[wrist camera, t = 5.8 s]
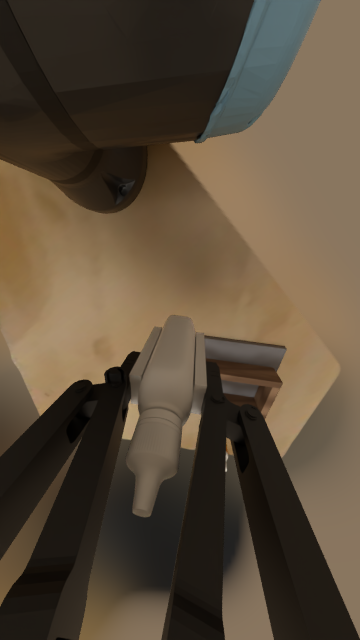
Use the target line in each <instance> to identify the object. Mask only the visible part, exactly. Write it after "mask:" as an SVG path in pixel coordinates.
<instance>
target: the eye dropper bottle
mask: <svg viewBox="0 0 360 640" xmlns="http://www.w3.org/2000/svg"><path fill="white" fill-rule="evenodd" d="M194 364H195V328H194V324H193V321H192V320H191V318H189V317H185V316H177V315H171V316H170V317H168V319H167V320H166V322H165V324H164V327H163V329H162V331H161V334H160V336H159V339H158V341H157V343H156V346H155V348H154V351H153V353H152V356H151V358H150V360H149V363H148V365H147V368H146V370H145V373H144V375H143V378H142V381H141V384H140V388H139V393H138V410H139V414H140V416H139V419H138V422H137V425H136V428H135V431H134V434H133V437H132V440H131V443H130V446H129V449H128V452H127V455H126V458H125V459H126V464H127V466H128V467H129V469H130V470H131V471H132V472H134V473H135V477H136V484H135V492H134V500H133V509H132V512H133V513H134V514H136V515H138V516H142V517H149V516H150V515H151V512H152V509H153V505H154V502H155V499H156V496H157V493H158V490H159V487H160V484H161V483H162V481H163V480H165V479H169V478H171V477H172V476H174V475H175V474H176V473H177V472H178V469H179V458H180V447H181V436H182V427H183V426H184V424H185V423H186V421H187V420H188V418H189V415H190V413H191V409H192V403H193V389H194Z"/></svg>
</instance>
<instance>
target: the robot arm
mask: <svg viewBox="0 0 360 640" xmlns="http://www.w3.org/2000/svg"><path fill="white" fill-rule="evenodd" d="M320 1H321V0H0V159H1V160H3V161H6V162H8V163H11V164H13V165H15V166H18V167H20V168H23V169H25V170H27V171H30V172H32V173H35V174H37V175H39V176H42V177H44V178H47V179H49V180H50V181H52V182H53V183H54V184H55V185H56V186H57V187H58V188H59V189H60V190H61V191H63V192H64V193H65V194H66V195H67V196H68V197H69V198H70V199H71V200H73V201H74V202H75V203H77V204H79V205H80V206H82V207H84V208H86V209H89V210H92V211H96V212H99V213H115V212H118V211H120V210H123V209H124V208H126V207H127V206H128V205H130V204H131V203H132V202H133V200H134V199H135V198H136V197H137V195H138V193H139V192H140V190H141V187H142V185H143V182H144V178H145V174H146V168H147V147H146V145H155V144H165V143H174V142H185V141H194V142H195V143H202V142H204V141H205V140H206V139H207V138H210V137H216V136H221V135H227V134H232V133H238V132H241V131H243V130H245V129H247V128H248V127H250V126H251V125H252V124H253V123H254V122H255V121H256V120H257V119H258V118H259V117H260V116H261V114H262V113H263V111H264V110H265V109H266V108H267V106H268V105H269V104H270V102H271V101H272V100H273V98H274V97H275V95H276V93H277V91H278V90H279V88H280V86H281V84H282V83H283V81H284V79H285V77H286V75H287V73H288V71H289V69H290V67H291V65H292V63H293V61H294V59H295V57H296V55H297V53H298V51H299V49H300V46H301V44H302V42H303V40H304V38H305V35H306V33H307V31H308V29H309V27H310V24H311V22H312V20H313V17H314V15H315V13H316V10H317V8H318V5H319V3H320ZM161 331H162V327H154V329H153V330H152V332H151V334H150V336H149V338H148V340H147V342H146V344H145V346H144V348H143V349H142V351H141V352H135V351H133V352H131V353H130V354H128V356H127V357H126V359H125V361H124V362H123V364H122V365H121V367H112V368H110V369H108V370H107V371H106V372H105V373H104V375H105V382H106V383H102V384H94V385H92V383H91V381H89V380H79V381H77V382H75V383H73V384H72V385H71V386H70V387H69V388H68V389H67V390H66V391H65V392H64V393H63V394H62V395H61V396H60V397H59V398H58V399H57V400H56V401H55V402H54V403H53V404H52V405H51V406H50V407H49V408H48V409H47V410H46V411H45V412H44V413H43V414H42V415H41V416H40V417H39V419H37V420H36V421H35V422H34V423H33V424H32V425H31V426H30V427H29V429H27V430H26V431H25V433H23V435H22V436H20V438H19V439H18V440H16V441H15V442H14V444H13V445H12V446H11V447H10V448H9V449H8V450H7V451H6V452H5V453H4V454H3V455H2V456H1V457H0V560H1V558H2V557H3V555H4V554H5V552H6V551H7V549H8V548H9V546H10V545H11V543H12V542H13V540H14V539H15V537H16V536H17V534H18V533H19V531H20V530H21V528H22V527H23V525H24V524H25V522H26V521H27V519H28V518H29V516H30V515H31V513H32V512H33V510H34V509H35V507H36V506H37V504H38V503H39V501H40V500H41V498H42V497H43V495H44V494H45V492H46V491H47V489H48V488H49V486H50V485H51V483H52V482H53V480H54V479H55V477H56V476H57V474H58V473H59V471H60V470H61V468H62V467H63V465H64V464H65V462H66V461H67V459H68V458H69V456H70V455H71V453H72V452H73V450H74V449H75V447H76V446H77V444H78V443H79V441H80V440H81V442H80V444H79V446H78V449H77V451H76V453H75V456H74V458H73V460H72V463H71V465H70V467H69V470H68V472H67V474H66V477H65V479H64V481H63V484H62V486H61V488H60V490H59V493H58V495H57V497H56V500H55V502H54V504H53V507H52V509H51V511H50V514H49V516H48V519H47V521H46V523H45V525H44V528H43V530H42V532H41V535H40V537H39V539H38V542H37V544H36V546H35V549H34V551H33V553H32V556H31V558H30V560H29V562H28V564H27V566H26V569H25V570H24V572H23V574H22V575H21V576H20V577H19V578H18V580H17V581H16V582H15V583H14V584H13V585H12V587H11V589H10V590H9V592H8V594H7V595H6V597H5V598H4V600H3V602H2V604H1V606H0V640H79V635H80V631H81V626H82V622H83V617H84V612H85V606H86V600H87V590H88V583H89V578H90V573H91V569H92V565H93V560H94V556H95V552H96V547H97V543H98V539H99V534H100V530H101V526H102V521H103V517H104V512H105V508H106V504H107V500H108V495H109V491H110V487H111V482H112V478H113V473H114V469H115V465H116V461H117V456H118V452H119V447H120V443H121V439H122V435H123V430H124V426H125V422H126V417H127V413H128V404H129V401H130V399H131V403H132V404H138V393H139V388H140V384H141V381H142V378H143V375H144V373H145V370H146V368H147V365H148V363H149V360H150V358H151V356H152V353H153V351H154V348H155V346H156V343H157V341H158V339H159V336H160V334H161ZM191 413H195V414H201V420H200V425H199V432H198V437H197V443H196V449H195V455H194V460H193V466H192V472H191V478H190V483H189V489H188V494H187V501H186V506H185V512H184V517H183V523H182V529H181V534H180V540H179V546H178V551H177V557H176V563H175V568H174V575H173V580H172V586H171V591H170V597H169V603H168V608H167V613H166V618H165V623H164V628H163V634H162V640H225V635H224V627H223V621H222V585H223V582H222V581H223V547H224V546H223V545H224V506H225V468H226V437H227V438H229V439H230V440H231V445H232V449H233V454H234V458H235V462H236V467H237V472H238V477H239V481H240V486H241V490H242V495H243V500H244V504H245V509H246V513H247V518H248V522H249V527H250V531H251V536H252V541H253V545H254V550H255V554H256V559H257V564H258V568H259V572H260V577H261V582H262V587H263V591H264V596H265V600H266V604H267V609H268V614H269V619H270V623H271V628H272V632H273V637H274V640H360V638H359V636H358V634H357V631H356V629H355V627H354V624H353V622H352V620H351V618H350V615H349V613H348V611H347V608H346V606H345V604H344V602H343V599H342V597H341V595H340V592H339V590H338V588H337V585H336V583H335V581H334V578H333V576H332V574H331V571H330V569H329V567H328V565H327V562H326V560H325V558H324V555H323V553H322V551H321V549H320V546H319V544H318V542H317V539H316V537H315V535H314V532H313V530H312V528H311V525H310V523H309V521H308V518H307V516H306V514H305V512H304V509H303V507H302V505H301V502H300V500H299V498H298V495H297V493H296V491H295V489H294V486H293V484H292V482H291V480H290V477H289V475H288V473H287V470H286V468H285V466H284V463H283V461H282V459H281V456H280V454H279V452H278V449H277V447H276V445H275V442H274V440H273V438H272V436H271V433H270V431H269V429H268V426H267V424H266V422H265V419H264V417H263V415H262V413H261V412H260V410H258V409H257V408H256V407H255V406H253V405H250V404H244V405H242V406H241V407H240V406H238V405H235V404H233V403H231V402H230V401H229V400H227V398H226V397H225V395H224V393H223V388H222V382H221V375H220V369H219V366H218V365H217V363H215V362H208V361H206V359H205V340H204V333H199V332H196V338H195V364H194V389H193V403H192V409H191ZM81 438H82V439H81Z"/></svg>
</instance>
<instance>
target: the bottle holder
mask: <svg viewBox="0 0 360 640" xmlns="http://www.w3.org/2000/svg"><path fill="white" fill-rule="evenodd" d="M204 340H205V359H206V361H208V362H215V363H217V365H218V366H219V369H220V375H221V382H222V388H223V393H224V395H225V397H226V398H227V400H229V401H230V402H231V403H233V404H235V405H238V406H240V407H241V406H242V405H244V404H250V405H253V406H255V407H256V408H257V409H258V410H260V412H261V413H262V415H263V417H264V419H265V418H266V416H267V414H268V412H269V410H270V408H271V406H272V404H273V402H274V400H275V398H276V396H277V394H278V392H279V390H280V388H281V386H282V384H283V383H282V381H281V379H280V378H279V376H278V374H277V373H276V372H277V370H278V368H279V365H280V363H281V361H282V359H283V357H284V354H285V352H286V350H287V349H286V348H285V346H277V345H270V344H262V343H255V342H247V341H240V340H232V339H225V338H217V337H210V336H204Z"/></svg>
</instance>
